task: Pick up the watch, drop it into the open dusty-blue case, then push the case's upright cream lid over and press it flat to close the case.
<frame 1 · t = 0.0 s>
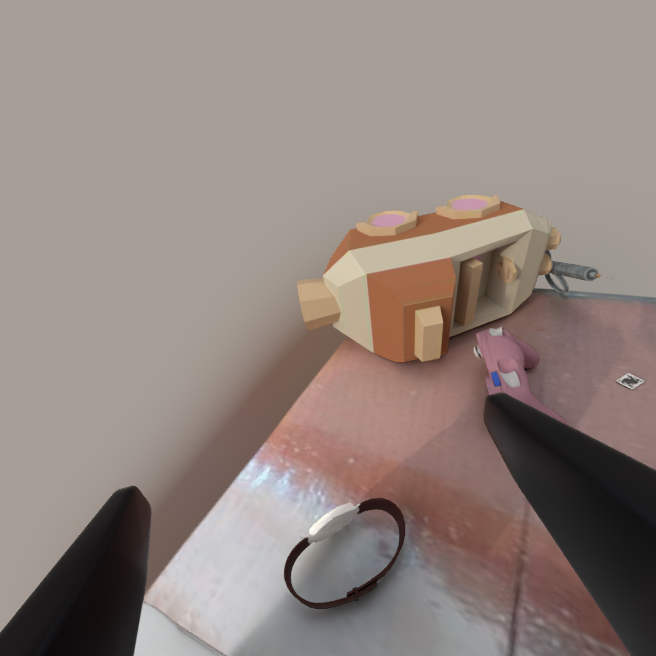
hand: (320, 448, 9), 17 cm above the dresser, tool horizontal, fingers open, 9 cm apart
syringe: (546, 273, 41), point 3 cm above the dresser, touching toy vehicle
watch: (350, 563, 22), on the dresser
toy vehicle: (411, 250, 42), point 7 cm above the dresser, touching syringe
video game controller: (511, 400, 31), on the dresser
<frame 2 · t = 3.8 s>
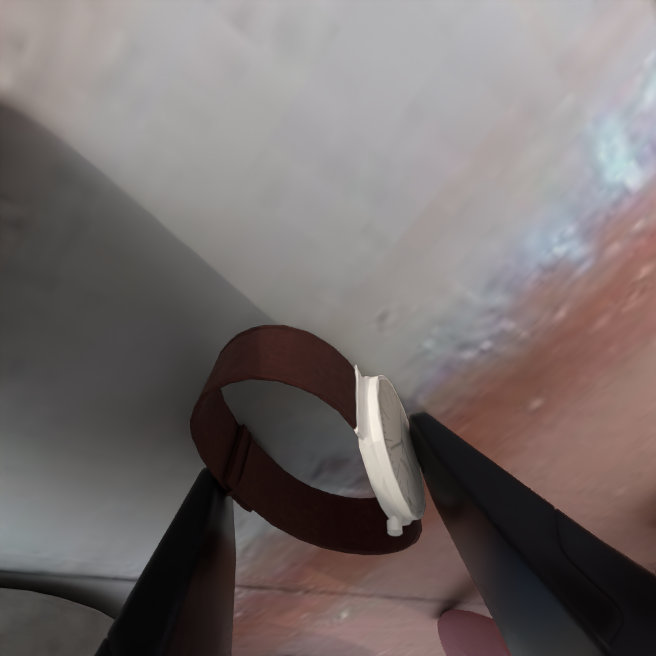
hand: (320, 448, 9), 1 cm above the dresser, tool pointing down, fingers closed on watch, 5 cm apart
watch: (313, 414, 10), on the dresser, touching gripper
video game controller: (520, 583, 20), on the dresser
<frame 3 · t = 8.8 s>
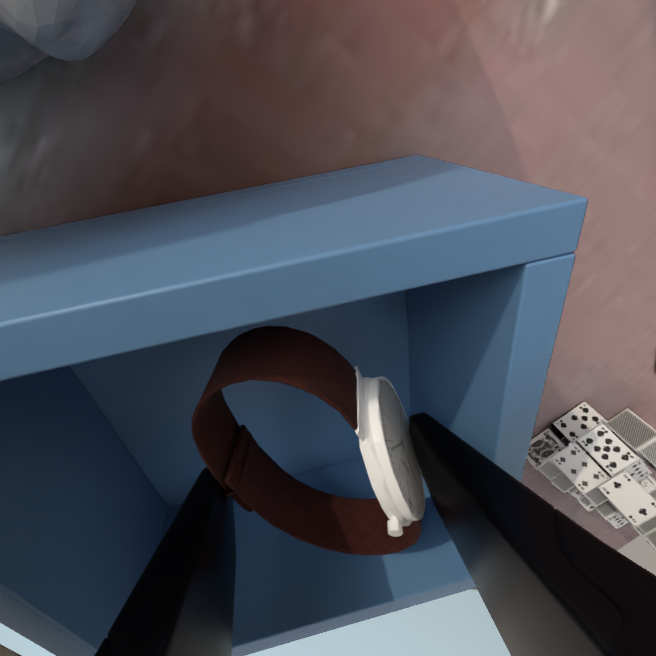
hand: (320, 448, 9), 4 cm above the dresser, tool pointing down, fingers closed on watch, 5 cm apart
case: (261, 367, 12), on the dresser
watch: (313, 414, 10), point 3 cm above the dresser, touching gripper
house of cards: (619, 427, 19), on the dresser
when the fingers open (7 cm above the dresser, at t = 22.1 s): watch drops 5 cm, resting on case.
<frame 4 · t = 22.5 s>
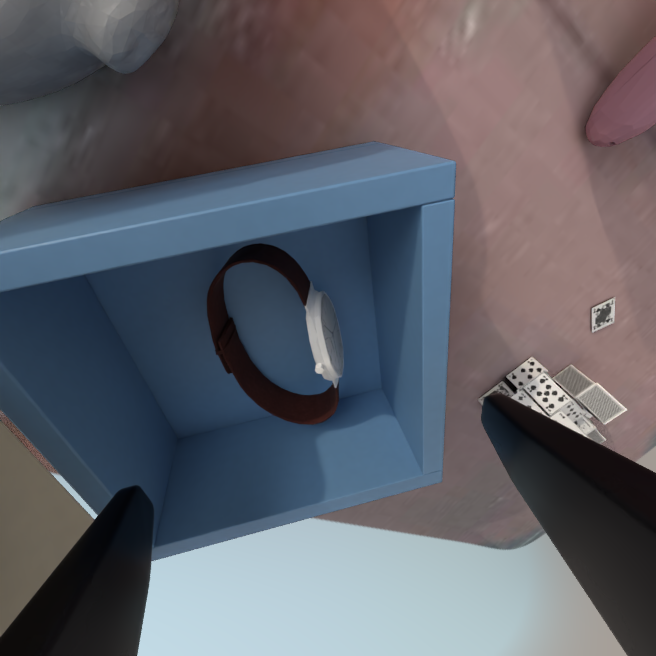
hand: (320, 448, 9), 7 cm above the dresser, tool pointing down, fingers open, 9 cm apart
case: (255, 317, 15), on the dresser
watch: (278, 323, 15), point 1 cm above the dresser, touching case
house of cards: (566, 383, 22), on the dresser
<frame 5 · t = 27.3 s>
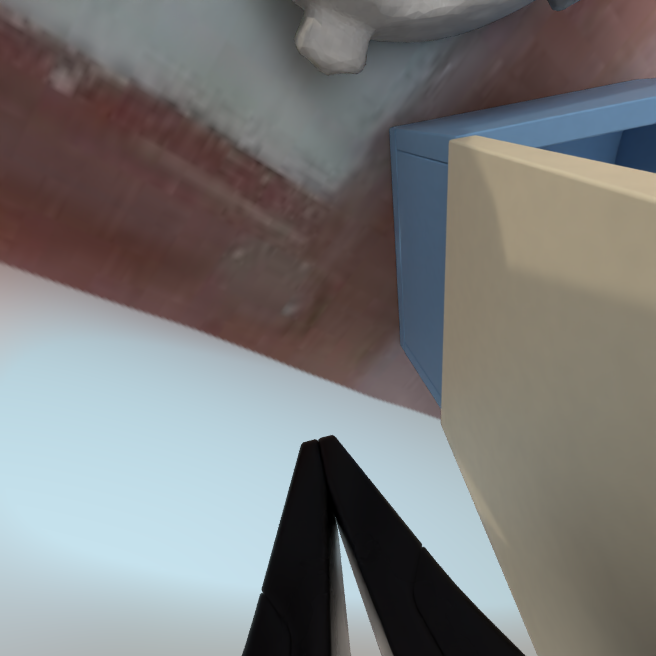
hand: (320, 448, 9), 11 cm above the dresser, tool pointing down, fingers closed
case: (500, 231, 19), on the dresser
case lid: (553, 458, 8), point 12 cm above the dresser, hinge at 97.7°, touching gripper
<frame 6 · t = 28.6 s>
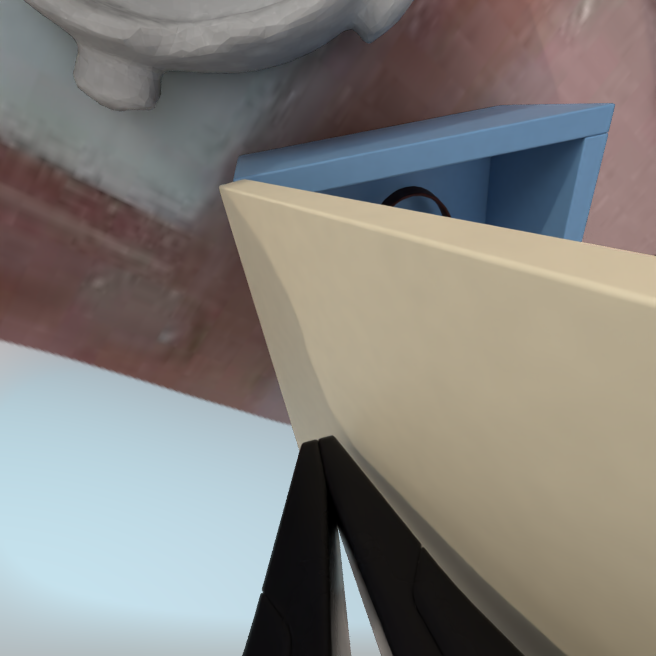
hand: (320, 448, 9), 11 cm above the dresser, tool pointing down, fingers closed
case: (382, 257, 18), on the dresser
watch: (404, 261, 18), point 1 cm above the dresser, touching case
case lid: (408, 475, 8), point 12 cm above the dresser, hinge at 66.3°, touching gripper
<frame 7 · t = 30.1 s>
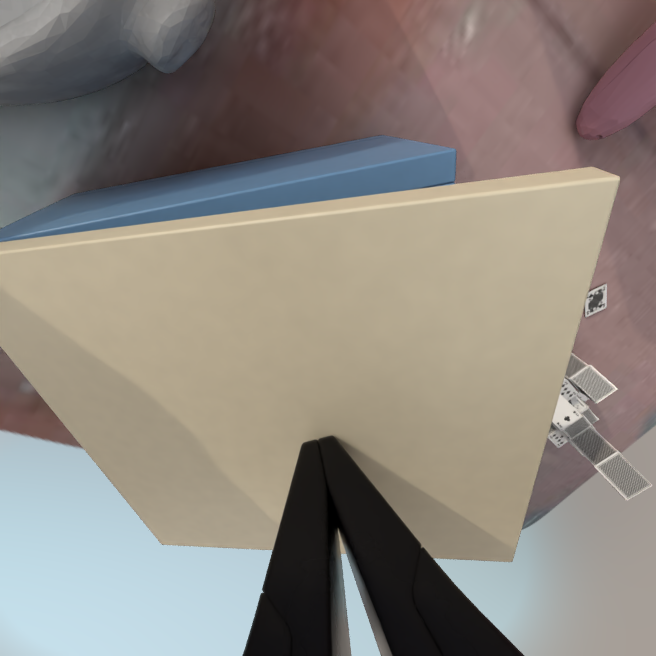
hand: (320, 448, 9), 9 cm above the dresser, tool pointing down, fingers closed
case: (270, 299, 16), on the dresser
case lid: (289, 433, 10), point 8 cm above the dresser, hinge at 17.1°, touching gripper
house of cards: (561, 366, 23), on the dresser
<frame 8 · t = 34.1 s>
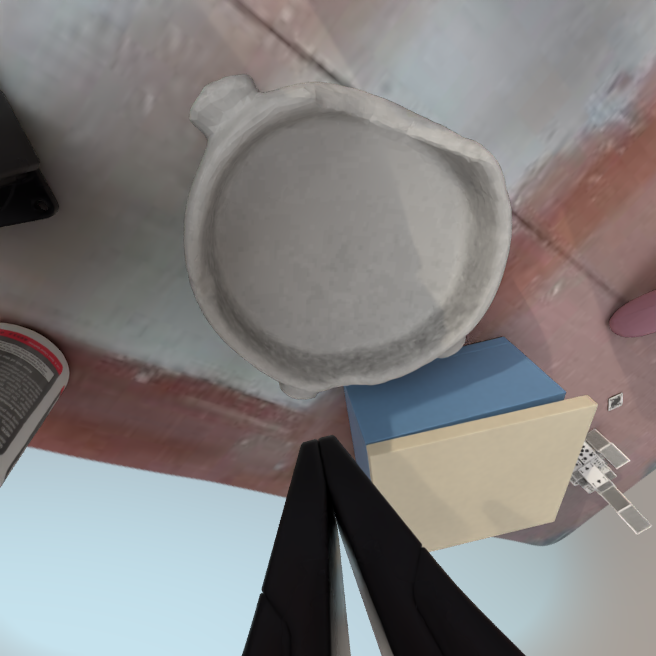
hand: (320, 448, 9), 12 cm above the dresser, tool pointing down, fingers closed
dish: (335, 243, 19), on the dresser
case: (424, 414, 27), on the dresser
pill bottle: (16, 360, 19), on the dresser
case lid: (473, 488, 22), point 6 cm above the dresser, hinge at 2.0°
house of cards: (591, 438, 34), on the dresser
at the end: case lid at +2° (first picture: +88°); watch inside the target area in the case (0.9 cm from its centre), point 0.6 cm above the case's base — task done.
